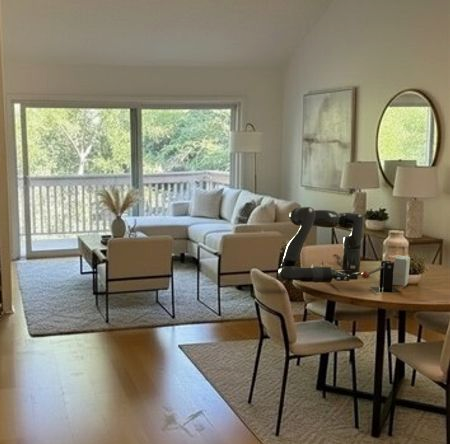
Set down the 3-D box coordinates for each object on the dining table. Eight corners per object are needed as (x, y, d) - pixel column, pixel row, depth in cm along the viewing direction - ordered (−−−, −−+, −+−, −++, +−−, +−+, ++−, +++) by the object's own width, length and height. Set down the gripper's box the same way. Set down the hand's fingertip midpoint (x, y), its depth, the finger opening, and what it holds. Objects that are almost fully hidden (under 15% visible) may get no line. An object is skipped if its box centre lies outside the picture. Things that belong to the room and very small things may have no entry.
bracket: (376, 294, 267) (378, 264, 265) (369, 289, 277) (371, 259, 275) (402, 295, 267) (404, 264, 265) (394, 289, 277) (395, 259, 274)
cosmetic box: (395, 283, 288) (397, 254, 286) (408, 285, 285) (410, 256, 283) (392, 286, 281) (393, 257, 279) (405, 288, 278) (407, 259, 276)
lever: (364, 280, 270) (361, 274, 269) (362, 278, 273) (359, 272, 273) (392, 268, 268) (389, 261, 268) (389, 267, 272) (387, 260, 271)
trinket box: (310, 276, 303) (311, 259, 301) (331, 277, 300) (332, 260, 299) (311, 281, 292) (312, 263, 291) (333, 282, 290) (334, 264, 289)
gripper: (324, 270, 264) (359, 270, 264) (317, 263, 278) (350, 264, 278) (324, 286, 265) (359, 286, 265) (316, 278, 279) (349, 278, 279)
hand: (354, 274), depth 271 cm, fingers open, 8 cm apart
